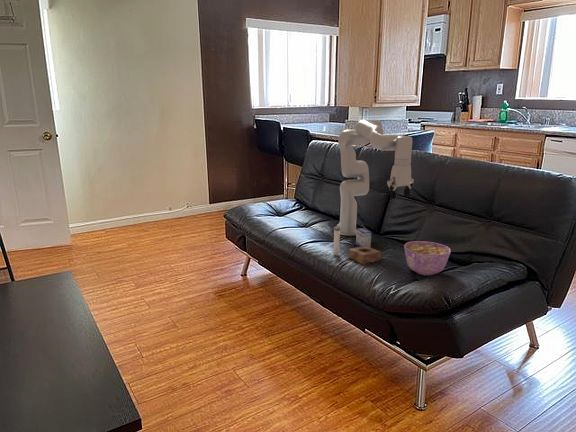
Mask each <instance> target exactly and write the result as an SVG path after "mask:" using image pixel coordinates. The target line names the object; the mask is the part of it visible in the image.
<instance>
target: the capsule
mask: <svg viewBox="0 0 576 432" xmlns="http://www.w3.org/2000/svg"><path fill="white" fill-rule="evenodd" d="M340 238H341V235H340V227H337V226H334V228H333V250H332V252H333V254H332V255H333V256H335V255H338V256H339V255H340V241H341V239H340Z"/></svg>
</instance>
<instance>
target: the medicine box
mask: <svg viewBox="0 0 576 432" xmlns="http://www.w3.org/2000/svg"><path fill="white" fill-rule="evenodd" d="M356 230H357V233H356V235H355V236H356V237H355V238H356V239H355V245H357V246H358V247H361V246H368V247H370V248H371V244H372V243H371V242H372V231H370V230H368V229H366V228H356Z"/></svg>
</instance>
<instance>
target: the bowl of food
mask: <svg viewBox="0 0 576 432" xmlns="http://www.w3.org/2000/svg"><path fill="white" fill-rule="evenodd" d="M403 247H404V253H405V254H404V255H405V259H406V264H407V266H408V268H410V269H411V270H412V271H413V272H415V273H416V274H419V275H422V276H433V275H436V274H439V273H441V272H442V271H443V270H444V269H445V267H446V265H447V262H448V261H449V257H450V255H451V252H452V251H451V248H450V247H449V246H447V245H444V244H443V243H437V242H432V241H425V240H424V241H422V240H415V241H414V240H413V241H407V242H406V243H405V244H404V245H403Z"/></svg>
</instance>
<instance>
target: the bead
mask: <svg viewBox="0 0 576 432" xmlns="http://www.w3.org/2000/svg"><path fill="white" fill-rule="evenodd" d="M347 257H349V258H348V259H350V258H351V259H350V260H352V259H353V260H352V261H354V260H355V262H357V263H359V262H360V263H359V264H361V263H362V264H361V265H366V264H365V263H368V262H372V261H377V260H381V257H382V251H380V250H378V249H375V248H373V247H371V246H370V247H368V246H356V247H353V248H349V249H348V255H347ZM377 262H378V261H377ZM372 263H373V262H372ZM368 264H369V263H368Z"/></svg>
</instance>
